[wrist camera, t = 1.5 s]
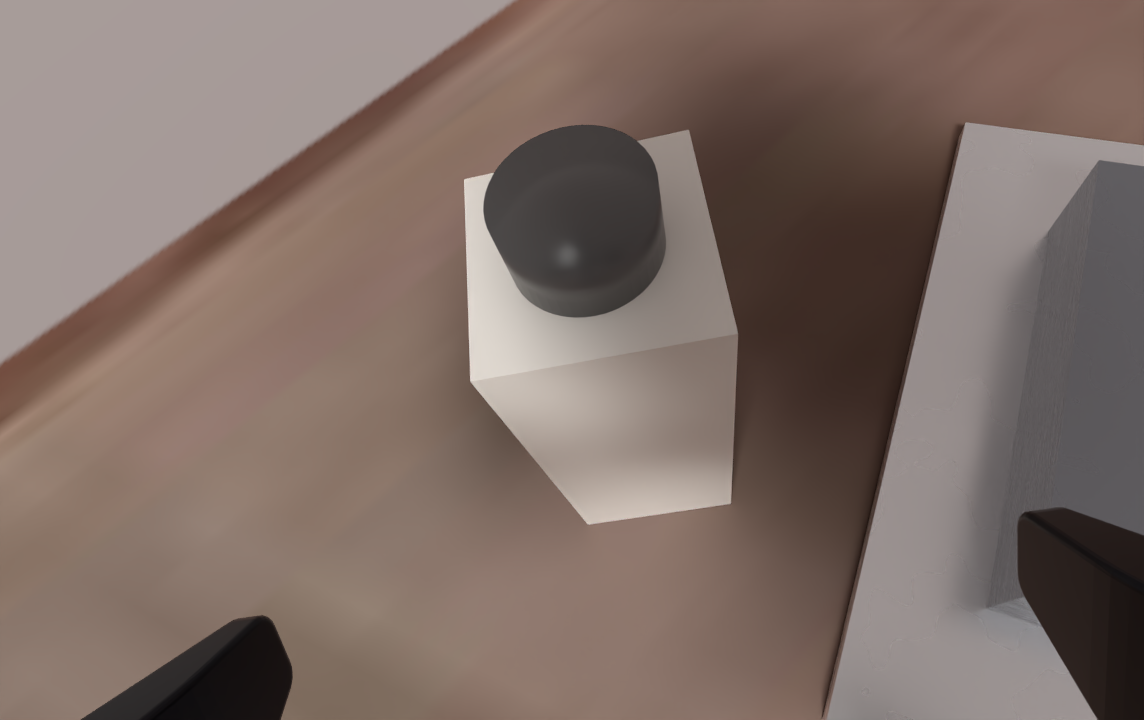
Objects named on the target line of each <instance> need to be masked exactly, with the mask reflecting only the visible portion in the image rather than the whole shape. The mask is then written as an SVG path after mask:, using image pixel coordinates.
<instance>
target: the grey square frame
mask: <svg viewBox="0 0 1144 720" xmlns="http://www.w3.org/2000/svg"><path fill="white" fill-rule="evenodd" d="M1053 507H1064V508H1068V509H1070V510H1073V511H1076V512H1079V513H1082V514H1085V515H1087V516H1090V517H1093V518H1096V519H1099V520H1102V521H1105V522H1107V523H1110V524H1113V525H1116V526H1119V527H1122V528H1125V529H1127V530H1130V531H1133V532H1136V533H1139V534H1142V535H1144V146H1143V145H1136V144H1128V143H1120V142H1113V141H1105V140H1097V139H1090V138H1082V137H1074V136H1066V135H1059V134H1051V133H1043V132H1036V131H1028V130H1020V129H1013V128H1005V127H997V126H989V125H982V124H974V123H965V125H964V127H963V130H962V132H961V134H960V137H959V139H958V143H957V147H956V152H955V156H954V160H953V164H952V169H951V173H950V177H949V181H948V186H947V190H946V194H945V198H944V203H943V207H942V211H941V215H940V220H939V224H938V228H937V233H936V237H935V241H934V245H933V250H932V254H931V258H930V262H929V267H928V271H927V275H926V279H925V284H924V288H923V292H922V296H921V301H920V305H919V309H918V313H917V318H916V322H915V326H914V330H913V335H912V339H911V343H910V348H909V352H908V356H907V360H906V365H905V369H904V373H903V377H902V382H901V386H900V390H899V394H898V399H897V403H896V407H895V411H894V416H893V420H892V424H891V428H890V433H889V437H888V441H887V445H886V450H885V454H884V458H883V463H882V467H881V471H880V475H879V480H878V484H877V488H876V492H875V497H874V501H873V505H872V509H871V514H870V518H869V522H868V526H867V531H866V535H865V539H864V543H863V548H862V552H861V556H860V561H859V565H858V569H857V573H856V578H855V582H854V586H853V590H852V595H851V599H850V603H849V607H848V612H847V616H846V620H845V624H844V629H843V633H842V637H841V641H840V646H839V650H838V654H837V658H836V663H835V667H834V671H833V676H832V680H831V684H830V688H829V693H828V697H827V701H826V705H825V710H824V714H823V718H822V720H1097V718H1096V716H1095V715H1094V713H1093V712H1092V710H1091V708H1090V707H1089V705H1088V704H1087V702H1086V700H1085V698H1084V697H1083V695H1082V693H1081V692H1080V690H1079V688H1078V687H1077V685H1076V683H1075V682H1074V680H1073V678H1072V676H1071V675H1070V673H1069V671H1068V670H1067V668H1066V666H1065V665H1064V663H1063V661H1062V660H1061V658H1060V656H1059V655H1058V653H1057V651H1056V649H1055V648H1054V646H1053V644H1052V643H1051V641H1050V639H1049V638H1048V636H1047V634H1046V633H1045V631H1044V629H1043V627H1042V626H1041V624H1040V622H1039V621H1038V619H1037V617H1036V616H1035V614H1034V612H1033V611H1032V609H1031V607H1030V606H1029V604H1028V602H1027V600H1026V599H1025V597H1024V595H1023V593H1022V590H1021V587H1020V584H1019V580H1018V572H1017V524H1018V519H1019V517H1020V516H1021V515H1022V514H1023V513H1024V512H1026V511H1032V510H1039V509H1046V508H1053Z"/></svg>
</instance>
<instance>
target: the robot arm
mask: <svg viewBox="0 0 1144 720" xmlns="http://www.w3.org/2000/svg"><path fill="white" fill-rule="evenodd" d="M1017 572H1018V580H1019V584H1020V587H1021V590H1022V593H1023V595H1024V597H1025V599H1026V600H1027V602H1028V604H1029V606H1030V607H1031V609H1032V611H1033V612H1034V614H1035V616H1036V617H1037V619H1038V621H1039V622H1040V624H1041V626H1042V627H1043V629H1044V631H1045V633H1046V634H1047V636H1048V638H1049V639H1050V641H1051V643H1052V644H1053V646H1054V648H1055V649H1056V651H1057V653H1058V655H1059V656H1060V658H1061V660H1062V661H1063V663H1064V665H1065V666H1066V668H1067V670H1068V671H1069V673H1070V675H1071V676H1072V678H1073V680H1074V682H1075V683H1076V685H1077V687H1078V688H1079V690H1080V692H1081V693H1082V695H1083V697H1084V698H1085V700H1086V702H1087V704H1088V705H1089V707H1090V708H1091V710H1092V712H1093V713H1094V715H1095V716H1096V718H1097V720H1144V535H1142V534H1139V533H1136V532H1133V531H1130V530H1127V529H1125V528H1122V527H1119V526H1116V525H1113V524H1110V523H1107V522H1105V521H1102V520H1099V519H1096V518H1093V517H1090V516H1087V515H1085V514H1082V513H1079V512H1076V511H1073V510H1070V509H1068V508H1064V507H1053V508H1046V509H1039V510H1032V511H1026V512H1024V513H1023V514H1022V515H1021V516H1020V517H1019V519H1018V524H1017ZM292 678H293V676H292V666H291V663H290V660H289V658H288V655H287V653H286V651H285V648H284V646H283V644H282V641H281V639H280V637H279V634H278V632H277V630H276V627H275V625H274V623H273V621H272V620H271V619H270V618H268V617H266V616H263V615H261V616H253V617H246V618H239V619H235V620H233V621H231V622H229V623H228V624H226V625H225V626H223V627H222V628H220V629H218V630H217V631H215V632H214V633H212V634H211V635H209V636H208V637H206V638H205V639H203V640H202V641H200V642H199V643H197V644H196V645H194V646H192V647H191V648H189V649H188V650H186V651H185V652H183V653H182V654H180V655H179V656H177V657H176V658H174V659H173V660H171V661H170V662H168V663H167V664H165V665H163V666H162V667H160V668H159V669H157V670H156V671H154V672H153V673H151V674H150V675H148V676H147V677H145V678H144V679H142V680H141V681H139V682H137V683H136V684H134V685H133V686H131V687H130V688H128V689H127V690H125V691H124V692H122V693H121V694H119V695H118V696H116V697H115V698H113V699H112V700H110V701H108V702H107V703H105V704H104V705H102V706H101V707H99V708H98V709H96V710H95V711H93V712H92V713H90V714H89V715H87V716H86V717H84V718H82V719H81V720H281V717H282V714H283V710H284V707H285V704H286V701H287V698H288V695H289V692H290V689H291V685H292Z"/></svg>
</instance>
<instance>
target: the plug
mask: <svg viewBox="0 0 1144 720" xmlns="http://www.w3.org/2000/svg"><path fill="white" fill-rule="evenodd" d="M464 191H465V223H466V256H467V288H468V320H469V353H470V382H471V383H472V384H473V386H474V387H475V388H476V389H477V390H478V392H479V393H480V394H481V395H482V396H483V398H484V399H485V400H486V401H487V403H488V404H489V405H490V406H491V407H492V409H493V410H494V411H495V412H496V413H497V415H498V416H499V417H500V418H501V420H502V421H503V422H504V423H505V424H506V426H507V427H508V428H509V429H510V430H511V432H512V433H513V434H514V435H515V437H516V438H517V439H518V440H519V441H520V443H521V444H522V445H523V446H524V447H525V449H526V450H527V451H528V452H529V454H530V455H531V456H532V457H533V458H534V460H535V461H536V462H537V463H538V464H539V466H540V467H541V468H542V469H543V471H544V472H545V473H546V474H547V475H548V477H549V478H550V479H551V480H552V481H553V483H554V484H555V485H556V486H557V488H558V489H559V490H560V491H561V492H562V494H563V495H564V496H565V497H566V498H567V500H568V501H569V502H570V503H571V505H572V506H573V507H574V508H575V509H576V511H577V512H578V513H579V514H580V515H581V517H582V518H583V519H584V520H585V522H586V523H587V524H588V525H589V524H596V523H603V522H610V521H617V520H624V519H631V518H637V517H644V516H651V515H658V514H665V513H672V512H678V511H685V510H692V509H699V508H706V507H713V506H720V505H726V504H731V491H732V467H733V444H734V420H735V397H736V373H737V350H738V331H737V327H736V323H735V319H734V314H733V310H732V306H731V302H730V298H729V294H728V290H727V286H726V281H725V277H724V273H723V269H722V265H721V261H720V257H719V252H718V248H717V244H716V240H715V236H714V232H713V228H712V224H711V219H710V215H709V211H708V207H707V203H706V199H705V195H704V191H703V186H702V182H701V178H700V174H699V170H698V166H697V162H696V157H695V153H694V149H693V145H692V141H691V137H690V133H689V130H685V131H680V132H676V133H671V134H667V135H662V136H658V137H653V138H649V139H644V140H640V141H636V140H635V139H633V138H632V137H630V136H628V135H626V134H625V133H623V132H620V131H617V130H615V129H611V128H607V127H603V126H596V125H575V126H568V127H562V128H558V129H554V130H551V131H548V132H546V133H543V134H540V135H538V136H536V137H534V138H532V139H530V140H529V141H527V142H525V143H524V144H522V145H521V146H519V147H518V148H517V149H515V150H514V151H513V152H512V153H511V154H510V155H509V156H508V157H506V158H505V159H504V161H503V162H502V163H501V164H500V165H499V167H498V168H497V169H496V171H495V172H494V173H491V174H486V175H482V176H477V177H473V178H468V179H464Z"/></svg>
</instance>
